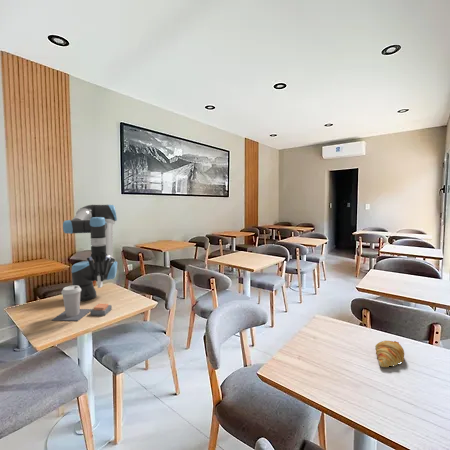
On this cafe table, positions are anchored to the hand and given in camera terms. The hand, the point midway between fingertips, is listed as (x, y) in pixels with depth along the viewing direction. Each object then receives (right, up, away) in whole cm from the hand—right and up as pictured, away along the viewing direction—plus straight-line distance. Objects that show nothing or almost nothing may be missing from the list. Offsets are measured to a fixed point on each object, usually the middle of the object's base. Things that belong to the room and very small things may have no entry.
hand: (100, 286), depth 147 cm
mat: (-14, -15, -2) cm, 21 cm away
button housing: (0, -15, +2) cm, 15 cm away
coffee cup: (-14, -15, -2) cm, 21 cm away
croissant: (+137, -20, -40) cm, 144 cm away
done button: (0, -13, +1) cm, 13 cm away
